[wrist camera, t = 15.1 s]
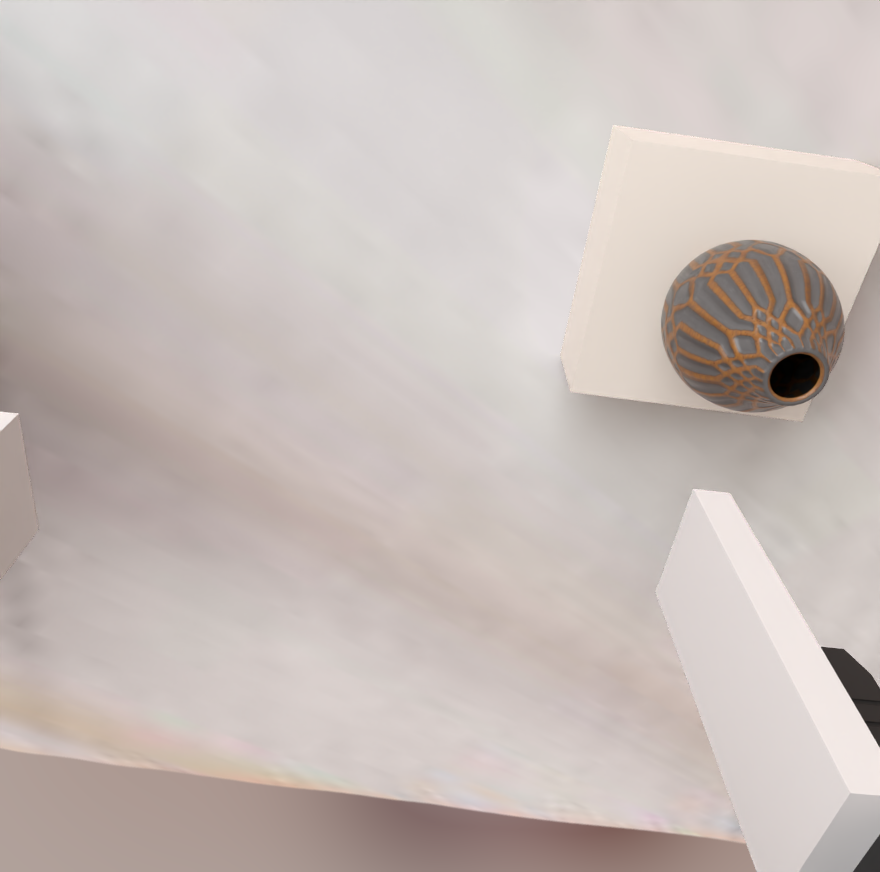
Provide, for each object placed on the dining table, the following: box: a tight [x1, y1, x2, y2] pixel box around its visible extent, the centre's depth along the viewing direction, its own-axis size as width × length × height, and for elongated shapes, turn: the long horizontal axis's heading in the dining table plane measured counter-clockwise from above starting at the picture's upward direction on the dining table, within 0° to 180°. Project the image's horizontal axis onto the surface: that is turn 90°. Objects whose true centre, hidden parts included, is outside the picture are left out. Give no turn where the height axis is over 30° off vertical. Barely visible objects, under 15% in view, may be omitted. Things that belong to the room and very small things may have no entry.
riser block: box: [560, 125, 880, 422], centre depth 37 cm, size 12×12×5 cm
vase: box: [661, 240, 845, 413], centre depth 31 cm, size 7×7×9 cm
